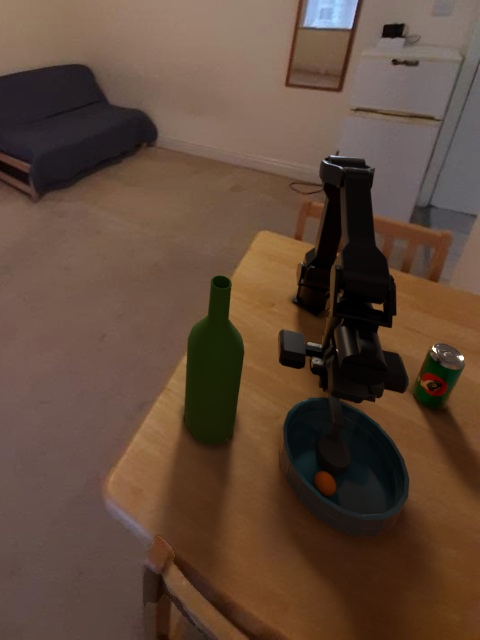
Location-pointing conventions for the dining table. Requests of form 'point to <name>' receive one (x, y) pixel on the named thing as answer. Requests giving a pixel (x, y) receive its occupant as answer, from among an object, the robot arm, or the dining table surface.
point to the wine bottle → (213, 369)
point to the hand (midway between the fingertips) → (329, 391)
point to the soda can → (438, 375)
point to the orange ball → (325, 483)
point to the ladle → (333, 442)
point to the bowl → (358, 482)
